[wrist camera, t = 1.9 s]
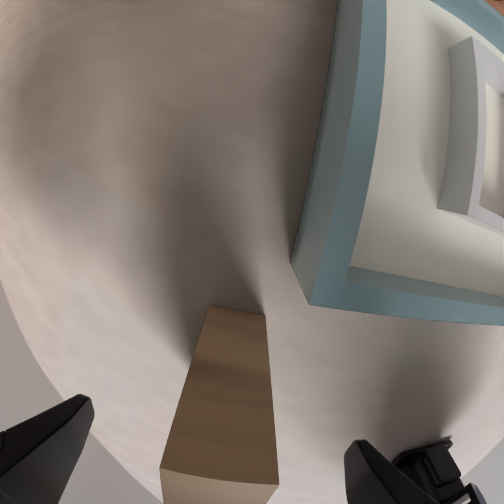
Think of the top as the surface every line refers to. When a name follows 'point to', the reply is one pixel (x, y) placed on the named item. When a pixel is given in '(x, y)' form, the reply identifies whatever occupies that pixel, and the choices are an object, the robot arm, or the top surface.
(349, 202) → the candle dish
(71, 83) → the top surface
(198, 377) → the brown wooden block
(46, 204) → the top surface
